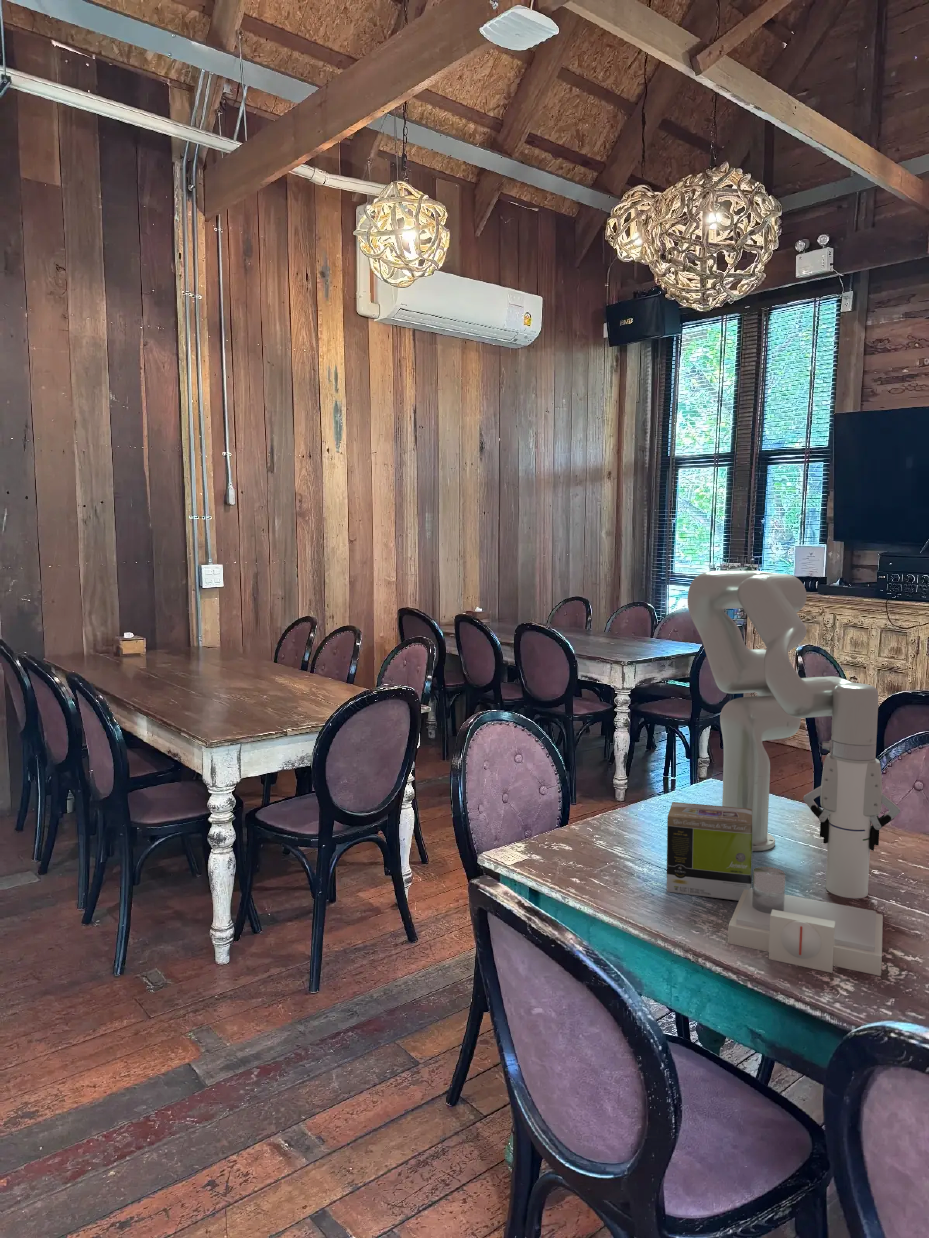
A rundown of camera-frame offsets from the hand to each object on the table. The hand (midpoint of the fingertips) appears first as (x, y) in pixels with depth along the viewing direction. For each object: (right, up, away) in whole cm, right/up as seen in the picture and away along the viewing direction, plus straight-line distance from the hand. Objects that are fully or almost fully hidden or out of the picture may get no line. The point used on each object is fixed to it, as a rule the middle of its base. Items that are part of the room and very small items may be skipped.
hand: (848, 844), depth 153 cm
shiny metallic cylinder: (-21, -6, -16) cm, 27 cm away
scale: (-16, -10, -20) cm, 27 cm away
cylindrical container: (0, -9, +1) cm, 9 cm away
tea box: (-26, -9, +2) cm, 27 cm away
